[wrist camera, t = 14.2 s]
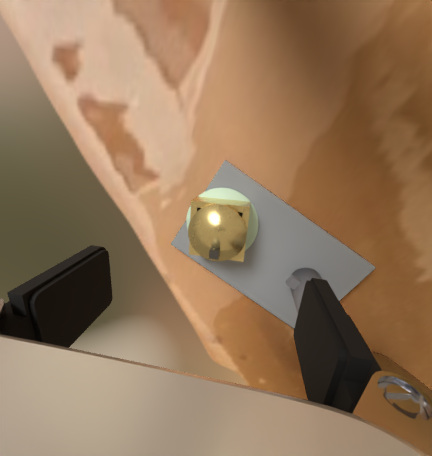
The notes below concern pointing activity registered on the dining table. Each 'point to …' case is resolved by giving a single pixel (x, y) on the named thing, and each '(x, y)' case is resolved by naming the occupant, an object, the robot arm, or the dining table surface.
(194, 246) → the gold domed block
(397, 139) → the dining table surface
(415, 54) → the dining table surface
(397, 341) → the dining table surface
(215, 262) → the board
